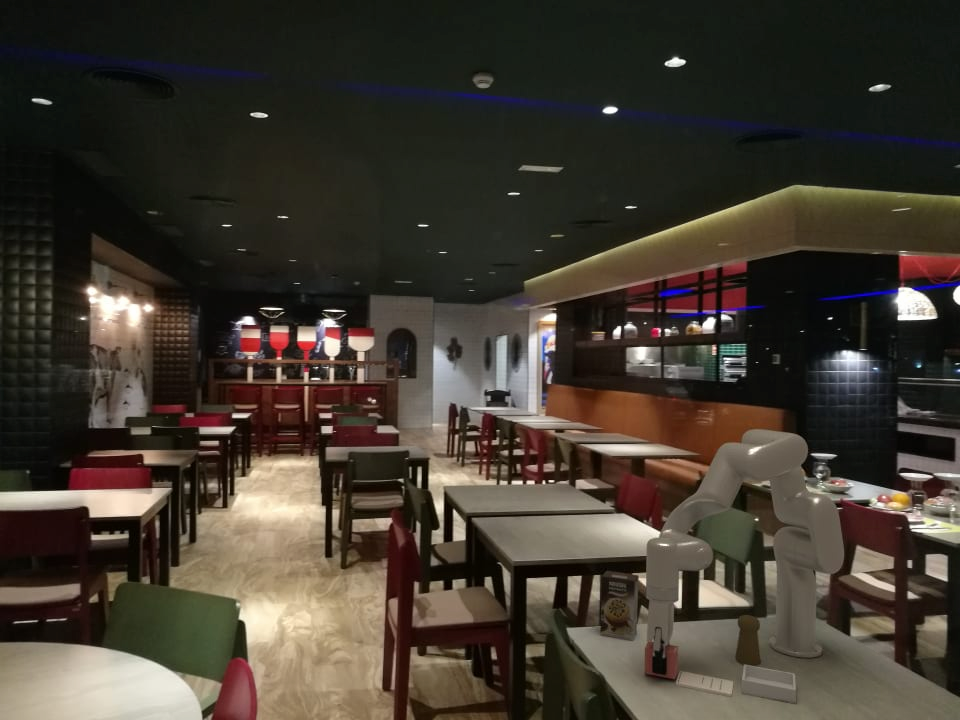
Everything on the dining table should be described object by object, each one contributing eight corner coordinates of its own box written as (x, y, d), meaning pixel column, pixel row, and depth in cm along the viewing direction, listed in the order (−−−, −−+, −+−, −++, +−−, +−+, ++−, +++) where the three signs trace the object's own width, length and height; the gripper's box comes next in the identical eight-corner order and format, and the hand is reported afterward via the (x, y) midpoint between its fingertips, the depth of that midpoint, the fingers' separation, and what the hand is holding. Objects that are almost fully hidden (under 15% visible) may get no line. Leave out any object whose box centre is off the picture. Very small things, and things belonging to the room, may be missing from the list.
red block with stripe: (647, 665, 165) (648, 640, 165) (677, 671, 162) (678, 646, 162) (644, 673, 161) (644, 647, 161) (675, 679, 158) (675, 653, 158)
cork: (763, 667, 168) (764, 622, 168) (737, 664, 169) (738, 619, 169) (758, 657, 174) (759, 613, 174) (733, 654, 175) (734, 611, 175)
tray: (743, 677, 162) (744, 664, 162) (794, 686, 158) (795, 673, 158) (741, 693, 154) (742, 679, 154) (795, 703, 149) (795, 690, 149)
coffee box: (599, 635, 185) (600, 575, 185) (604, 627, 191) (606, 569, 191) (633, 641, 182) (634, 580, 182) (637, 633, 188) (638, 574, 188)
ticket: (679, 673, 163) (680, 670, 163) (733, 683, 158) (733, 681, 158) (675, 685, 157) (675, 682, 157) (731, 696, 152) (731, 693, 152)
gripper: (652, 579, 171) (651, 652, 171) (639, 600, 156) (638, 680, 155) (683, 584, 168) (682, 658, 168) (673, 605, 153) (672, 687, 152)
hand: (661, 668), depth 162 cm, fingers closed on red block with stripe, 4 cm apart
